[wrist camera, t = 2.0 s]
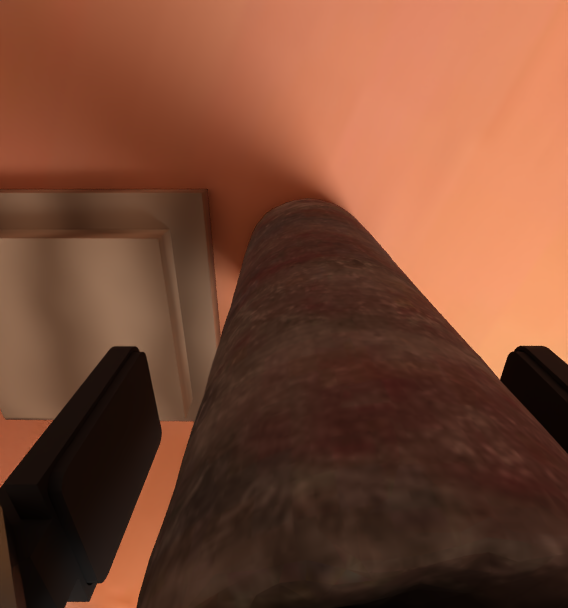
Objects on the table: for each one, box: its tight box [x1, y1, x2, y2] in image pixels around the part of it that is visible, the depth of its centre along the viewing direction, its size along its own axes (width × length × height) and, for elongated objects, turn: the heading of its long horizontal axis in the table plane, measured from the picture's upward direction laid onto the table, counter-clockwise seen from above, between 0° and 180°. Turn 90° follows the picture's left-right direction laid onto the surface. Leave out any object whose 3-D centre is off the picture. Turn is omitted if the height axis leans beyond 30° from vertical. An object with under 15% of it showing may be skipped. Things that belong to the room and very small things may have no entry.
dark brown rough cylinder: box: [137, 199, 568, 608], centre depth 13 cm, size 8×7×20 cm
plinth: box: [0, 189, 221, 421], centre depth 23 cm, size 16×16×4 cm
